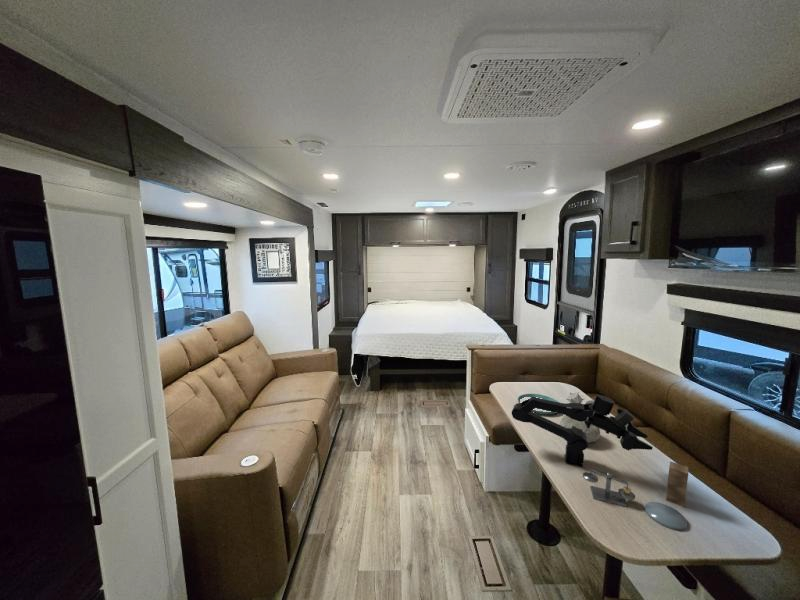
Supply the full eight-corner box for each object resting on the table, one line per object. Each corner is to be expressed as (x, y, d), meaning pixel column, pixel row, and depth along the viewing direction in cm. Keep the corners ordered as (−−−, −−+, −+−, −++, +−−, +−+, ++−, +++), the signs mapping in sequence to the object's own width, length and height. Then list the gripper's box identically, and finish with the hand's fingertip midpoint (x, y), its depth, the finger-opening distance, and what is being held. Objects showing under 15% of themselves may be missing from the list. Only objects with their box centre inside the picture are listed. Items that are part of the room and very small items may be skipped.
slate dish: (651, 523, 105) (651, 521, 105) (640, 500, 115) (640, 498, 115) (693, 534, 101) (693, 531, 101) (678, 509, 111) (678, 507, 111)
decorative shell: (599, 434, 159) (601, 416, 158) (599, 452, 145) (600, 431, 143) (560, 424, 169) (562, 407, 168) (556, 440, 154) (557, 420, 153)
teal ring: (508, 402, 196) (509, 397, 195) (536, 396, 206) (537, 391, 206) (540, 420, 174) (541, 414, 174) (570, 411, 184) (570, 406, 184)
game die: (574, 410, 194) (580, 395, 196) (582, 411, 185) (589, 396, 188) (561, 402, 195) (567, 388, 197) (569, 403, 186) (575, 388, 189)
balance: (582, 496, 117) (584, 471, 116) (580, 485, 123) (582, 461, 122) (636, 509, 111) (639, 483, 110) (631, 497, 116) (634, 472, 115)
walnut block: (666, 500, 115) (669, 467, 114) (666, 492, 119) (670, 461, 117) (684, 507, 112) (688, 473, 110) (684, 499, 116) (687, 466, 114)
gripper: (615, 416, 120) (664, 436, 113) (610, 398, 136) (653, 415, 130) (604, 440, 123) (651, 461, 116) (600, 419, 139) (641, 437, 132)
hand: (649, 442), depth 123 cm, fingers open, 9 cm apart
